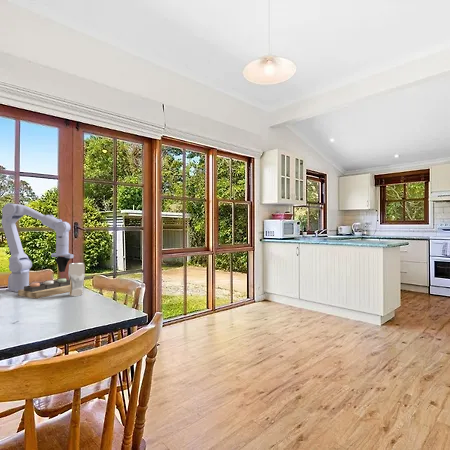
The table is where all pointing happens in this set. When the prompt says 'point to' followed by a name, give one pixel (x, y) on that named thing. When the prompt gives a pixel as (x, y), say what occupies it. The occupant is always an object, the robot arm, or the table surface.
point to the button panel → (45, 290)
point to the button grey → (48, 282)
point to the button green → (61, 280)
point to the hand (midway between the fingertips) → (62, 271)
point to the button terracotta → (34, 284)
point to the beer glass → (76, 278)
